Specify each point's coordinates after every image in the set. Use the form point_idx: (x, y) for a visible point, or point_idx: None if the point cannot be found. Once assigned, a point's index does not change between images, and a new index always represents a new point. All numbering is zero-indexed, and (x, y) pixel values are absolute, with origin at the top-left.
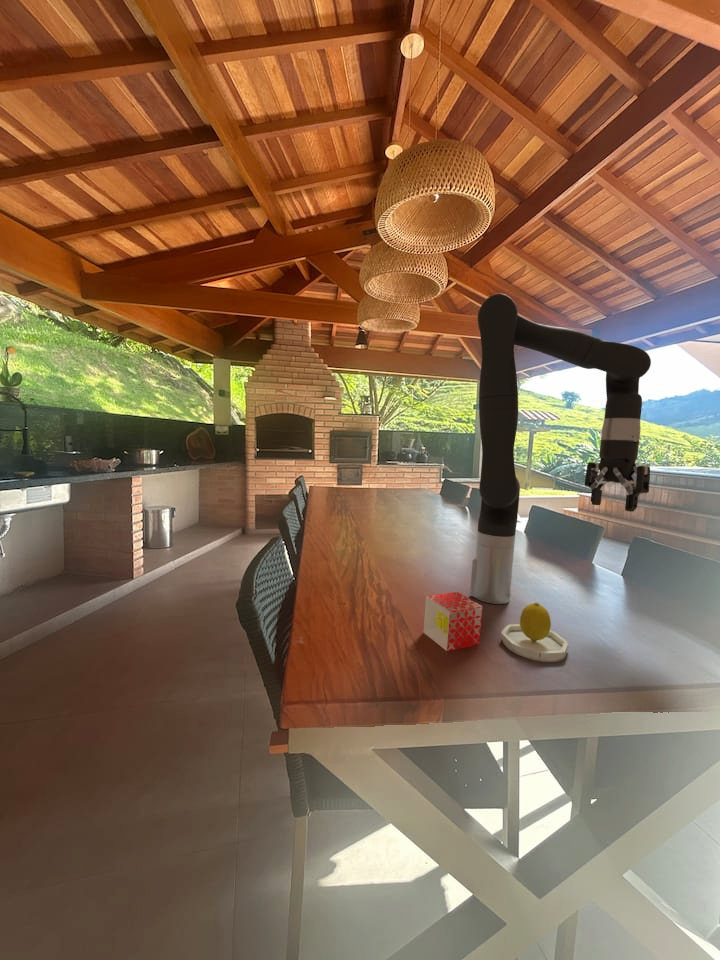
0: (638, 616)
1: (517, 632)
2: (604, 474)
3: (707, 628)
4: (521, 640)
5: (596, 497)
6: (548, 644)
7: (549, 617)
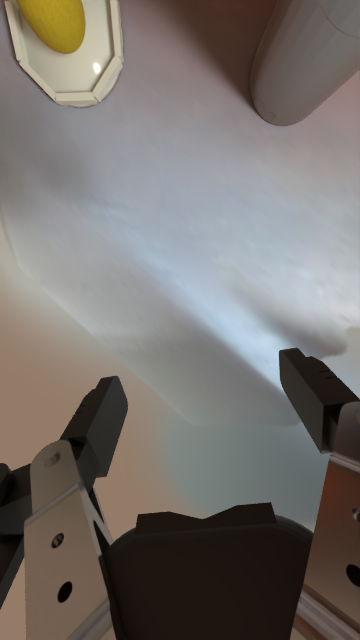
0: (182, 326)
1: (105, 21)
2: (301, 599)
3: (147, 381)
4: None
5: (297, 382)
6: (65, 68)
7: (26, 17)
